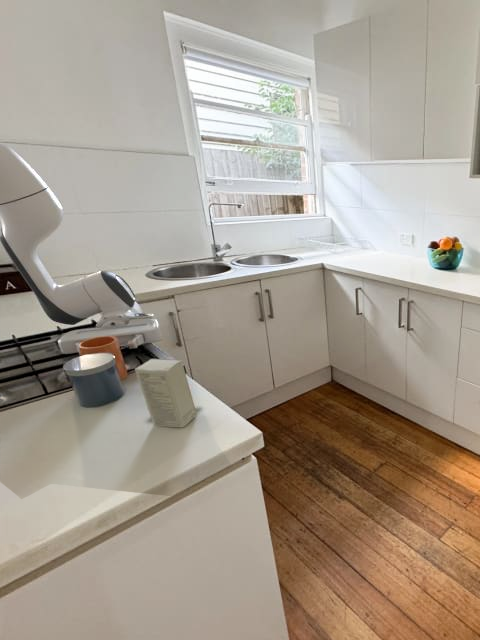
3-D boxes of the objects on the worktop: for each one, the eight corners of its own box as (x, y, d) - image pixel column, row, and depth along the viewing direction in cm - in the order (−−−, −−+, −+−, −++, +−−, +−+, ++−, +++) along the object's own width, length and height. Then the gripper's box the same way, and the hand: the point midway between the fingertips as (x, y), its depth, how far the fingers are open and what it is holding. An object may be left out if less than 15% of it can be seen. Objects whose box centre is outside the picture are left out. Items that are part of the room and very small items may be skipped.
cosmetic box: (197, 415, 74) (184, 359, 69) (182, 429, 70) (167, 371, 65) (167, 412, 75) (152, 357, 70) (150, 426, 71) (133, 368, 66)
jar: (69, 401, 77) (54, 364, 74) (112, 384, 84) (101, 349, 81) (90, 412, 74) (76, 374, 71) (133, 393, 81) (122, 358, 77)
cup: (85, 380, 85) (72, 344, 81) (117, 368, 90) (106, 334, 87) (101, 388, 82) (88, 350, 79) (134, 375, 88) (123, 339, 84)
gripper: (63, 323, 94) (45, 343, 83) (160, 312, 103) (155, 330, 92) (71, 346, 97) (55, 369, 86) (165, 334, 106) (161, 353, 95)
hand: (107, 348), depth 89 cm, fingers open, 8 cm apart
